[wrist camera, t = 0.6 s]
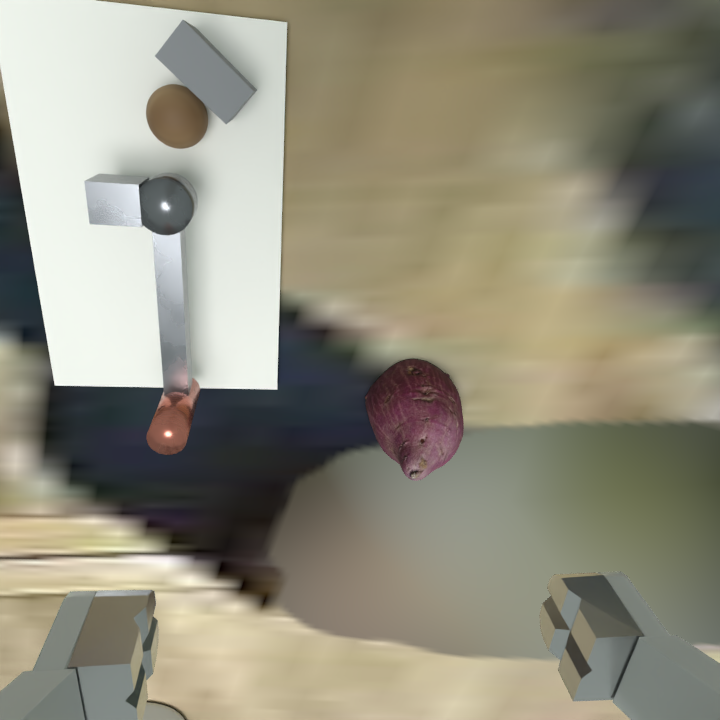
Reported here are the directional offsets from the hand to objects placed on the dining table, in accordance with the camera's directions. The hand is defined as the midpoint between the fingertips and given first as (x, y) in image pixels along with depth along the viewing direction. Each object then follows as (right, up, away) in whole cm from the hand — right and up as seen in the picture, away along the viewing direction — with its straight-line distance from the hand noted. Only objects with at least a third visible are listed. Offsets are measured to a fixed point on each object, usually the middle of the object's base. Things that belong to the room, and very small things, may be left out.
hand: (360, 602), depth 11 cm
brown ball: (-14, +24, +33) cm, 43 cm away
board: (-17, +17, +37) cm, 45 cm away
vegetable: (+6, +1, +49) cm, 50 cm away
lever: (-17, +10, +35) cm, 41 cm away
